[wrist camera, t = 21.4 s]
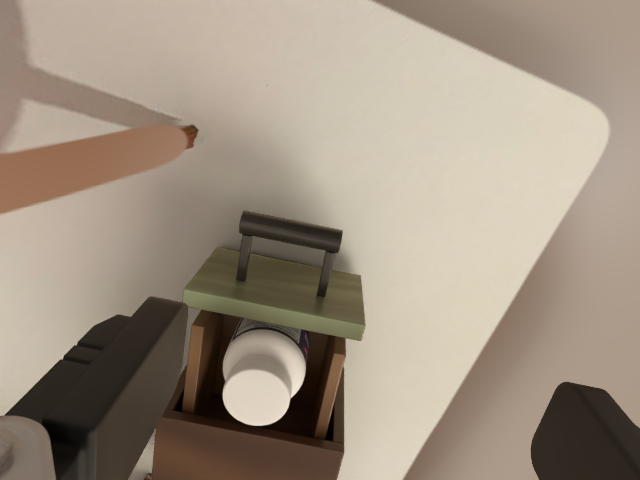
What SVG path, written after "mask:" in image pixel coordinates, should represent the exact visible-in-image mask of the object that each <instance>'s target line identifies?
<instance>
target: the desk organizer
mask: <svg viewBox="0 0 640 480" xmlns="http://www.w3.org/2000/svg"><path fill="white" fill-rule="evenodd" d="M151 477H152V476H151V475H149V474H147V475H146V477H145V479H144V480H151Z"/></svg>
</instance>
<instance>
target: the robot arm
mask: <svg viewBox="0 0 640 480" xmlns="http://www.w3.org/2000/svg"><path fill="white" fill-rule="evenodd" d="M187 317H188V306H187V304H186V303H182V302H177V301H172V300H167V299H162V298H157V297H153V296H151V297H149V298H148V299H147V300H146V301H145V302H144V303H143V304H142V305H141V306H140V308H139V309H138V310H137V311H136V312H135V313H134V314H133V315H132V317H128V316H123V315H116V316H114V317H112V318H110V319H107V320H105V321H103V322H101V323H99V324H97V325H95V326H94V327H93V328H92V329H91V330H89V331H88V332H87V333H86V334H85V335H84V336H83V337H82V338H81V339H80V340H79V341H78V344H77V346H75V345H74V346H73V347H72V348H71V349H70V350H69V351H68V352H67V353H66V354H65V355H64V358H63V360H59V361H58V362H57V363H56V364H55V365H54V366H53V367H52V368H51V369H50V370H49V371H48V372H47V373H46V374H45V375H44V376H43V377H42V378H41V379H40V380H39V381H38V382H37V383H36V384H35V385H34V386H33V387H32V388H31V389H30V390H29V391H28V392H27V393H26V394H25V395H24V396H23V397H22V398H21V399H20V400H19V401H18V402H17V403H16V404H15V405H14V406H13V407H12V408H11V409H10V410H9V411H8V412H7V413H6V414H5V415H4V416H0V480H128V478H129V476H130V475H131V473H132V471H133V469H134V467H135V465H136V463H137V461H138V460H139V458H140V456H141V454H142V452H143V450H144V448H145V447H146V445H147V443H148V441H149V439H150V437H151V435H152V433H153V432H154V430H155V428H156V426H157V424H158V422H159V420H160V419H161V417H162V415H163V413H164V411H165V409H166V407H167V406H168V404H169V402H170V400H171V398H172V396H173V394H174V392H175V389H176V387H177V384H178V380H179V377H180V373H181V368H182V361H183V352H184V343H185V334H186V325H187ZM531 459H532V464H533V467H534V470H535V472H536V474H537V476H538V478H539V480H640V428H639V427H637V426H636V425H635V424H634V423H633V422H632V421H631V420H630V419H629V417H628V416H627V415H626V414H625V413H624V412H623V410H622V409H621V408H620V407H619V406H618V404H617V403H616V402H615V401H614V399H613V398H612V397H611V396H610V395H609V394H608V393H607V392H606V391H605V390H603V389H600V388H594V387H590V386H585V385H580V384H575V383H570V382H563V383H561V384H560V385H559V386H558V387H557V388H556V390H555V392H554V394H553V396H552V399H551V400H550V403H549V405H548V407H547V409H546V411H545V413H544V415H543V418H542V419H541V422H540V424H539V426H538V428H537V430H536V432H535V434H534V437H533V440H532V445H531Z"/></svg>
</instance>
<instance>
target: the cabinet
mask: <svg viewBox="0 0 640 480" xmlns="http://www.w3.org/2000/svg"><path fill="white" fill-rule="evenodd" d="M186 371H187V365H186V367H185V368H184V370H183V372H182V374H181V375H180V377H179V380H178V384H177V387H176V389H175V392H174V394H173V396H172V398H171V400H170V402H169V404H168V406H167V407H166V409H165V411H164V413H163V415H162V417H161V419H160V420H159V422H158V424H157V426H156V435H155V445H154V456H153V467H152V477H151V480H337V477H338V474H339V470H340V466H341V462H342V459H343V455H344V368H343V369H342V373H341V377H340V381H339V385H338V389H337V393H336V397H335V401H334V405H333V409H332V413H331V417H330V421H329V425H328V429H327V433H326V437H325V440H321V439H316V438H311V437H306V436H300V435H295V434H290V433H285V432H280V431H275V430H270V429H264V428H259V427H254V426H249V425H244V424H239V423H234V422H228V421H223V420H218V419H213V418H208V417H203V416H197V415H192V414H187V413H182V406H183V397H184V389H185V380H186Z"/></svg>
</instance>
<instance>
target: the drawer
mask: <svg viewBox="0 0 640 480" xmlns="http://www.w3.org/2000/svg"><path fill="white" fill-rule="evenodd" d="M239 232H240V233H241V234H243V235H242V241H241V248H240V251H235V250H230V249H225V248H220V247H217V248H216V249H215V251H214V252H213V253H212V254H211V256H210V257H209V258H208V259H207V261H206V262H205V263H204V264H203V266H202V267H201V268H200V269H199V271H198V272H197V273H196V275H195V276H194V277H193V278H192V280H191V281H190V282H189V283H188V285H187V286H186V287H185V288H184V291H183V301H182V303H186V304H187V306H188V307H191V308H196V309H201V312H200V313H199V315H198V316H197V318H196V319H195V321H194V323H193V324H192V328H191V336H190V345H189V354H188V362H187V371H186V380H185V389H184V397H183V406H182V413H187V414H192V415H197V416H203V417H208V418H213V419H218V420H223V421H228V422H234V423H239V424H244V425H248V424H245V423H243V422H241V421H239V420H237V419H235V418H234V417H233V416H232V415H231V414H230V413H229V412H228V410H227V409H226V407H225V405H224V402H223V388H224V385H225V382H226V381H225V379H224V375H223V360H224V356H225V353H226V351H227V348H228V346H229V344H230V342H231V339H232V337H233V335H234V333H235V330H236V328H237V326H238V324H239V321H240V319H241V317H242V318H247V319H252V320H257V321H262V322H267V323H272V324H277V325H282V326H287V327H292V328H297V329H302V330H307V331H311V333H310V341H309V349H308V357H307V365H306V372H305V377H304V381H303V383H302V385H301V387H300V389H299V390H298V392H297V393H296V394H295V395H294V396H293V397H291V398H290V403H289V407H288V409H287V411H286V413H285V414H284V415H283V416H282V417H281V418H280V419H279V420H278V421H276V422H274V423H272V424H269V425H263V426H254V427H259V428H264V429H270V430H275V431H280V432H285V433H290V434H295V435H300V436H306V437H311V438H316V439H321V440H325V437H326V433H327V429H328V425H329V421H330V417H331V413H332V409H333V405H334V401H335V397H336V393H337V389H338V385H339V381H340V377H341V373H342V369H343V365H344V361H345V357H346V338H348V339H353V340H358V341H361V340H362V337H363V333H364V329H365V316H364V305H363V295H362V284H361V276H360V275H355V274H350V273H345V272H340V271H335V270H331V269H332V264H333V260H334V255H335V253H338V252H339V249H340V245H341V240H342V234H343V231H342V230H338V229H333V228H328V227H324V226H319V225H314V224H309V223H304V222H299V221H294V220H289V219H284V218H279V217H274V216H269V215H264V214H259V213H254V212H249V211H244V212H243V213H242V216H241V220H240V225H239ZM253 236H256V237H261V238H266V239H271V240H276V241H281V242H286V243H291V244H296V245H301V246H306V247H311V248H316V249H321V250H325V251H326V252H325V257H324V261H323V266H322V268H320V267H315V266H310V265H305V264H300V263H295V262H290V261H285V260H280V259H275V258H270V257H265V256H260V255H255V254H250V251H251V244H252V238H253ZM249 426H253V425H249Z"/></svg>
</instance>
